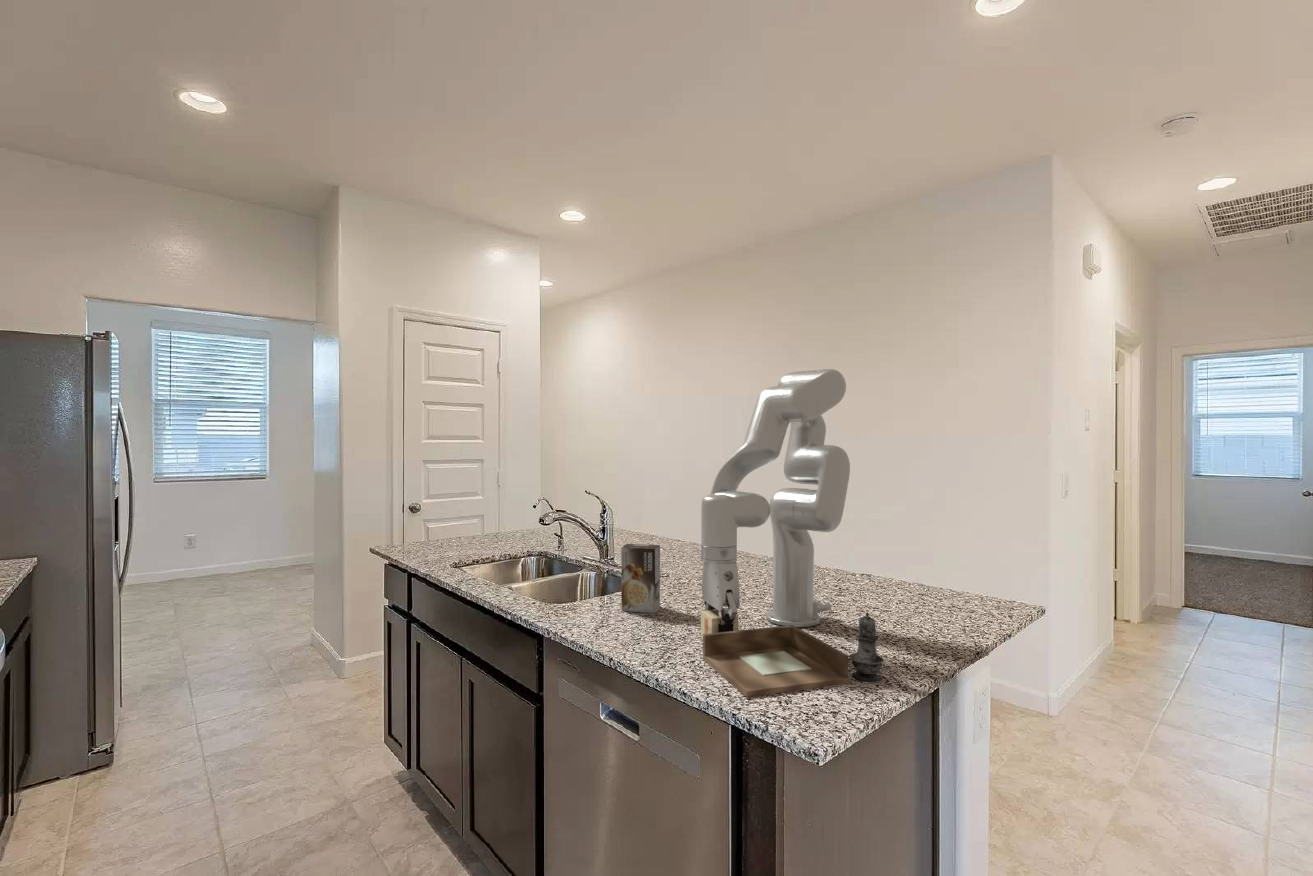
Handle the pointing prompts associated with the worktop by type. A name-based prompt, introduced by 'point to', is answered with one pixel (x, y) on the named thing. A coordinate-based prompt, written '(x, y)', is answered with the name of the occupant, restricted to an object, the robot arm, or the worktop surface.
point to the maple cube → (713, 622)
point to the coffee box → (640, 578)
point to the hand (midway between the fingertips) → (719, 636)
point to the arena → (774, 660)
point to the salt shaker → (866, 653)
